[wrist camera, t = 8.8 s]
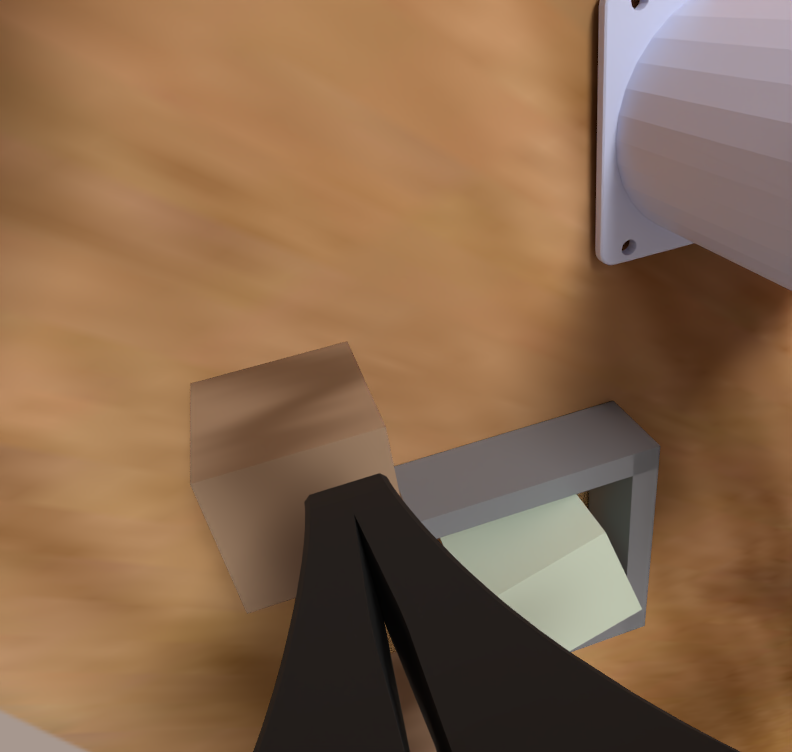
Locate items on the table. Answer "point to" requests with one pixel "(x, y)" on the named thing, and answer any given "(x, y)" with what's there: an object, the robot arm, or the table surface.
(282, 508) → the walnut block
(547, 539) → the sage block
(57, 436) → the table surface
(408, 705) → the walnut block
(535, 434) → the corral
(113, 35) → the table surface
